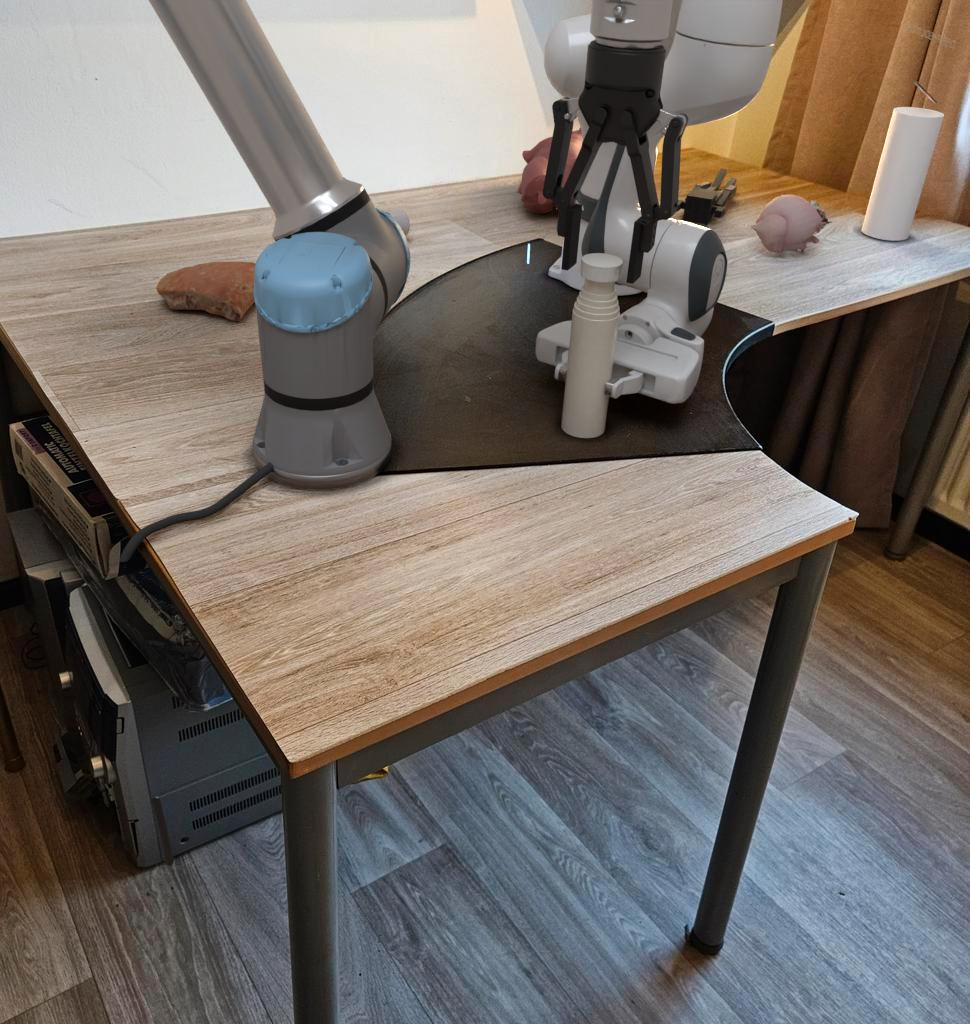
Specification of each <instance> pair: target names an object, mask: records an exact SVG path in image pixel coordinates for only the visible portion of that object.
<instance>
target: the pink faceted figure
mask: <svg viewBox="0 0 970 1024" xmlns="http://www.w3.org/2000/svg"><path fill="white" fill-rule="evenodd" d="M552 137H553V136H549V137H546V138H544V139H542V140H540V141H539V142H538V143H536V145H535V146H534V147H532V148H531V149H529V150H523V151H522V153H521V156H522V158H523V160H524V162H525V163H526V164H525V166H524V168H523V170H522V172H521V173H522V174H521V180H520V181H521V182H520V185H519V186H518V189H517V194H518V195H520V200H521V202H522V203H523V207H524V209H525V210H529V211H530V212H532V213H535V214H546V213H549V212H551V211H552V210H553V209H554V208H555V209H556V210H557V211H558V210H559V208H558V205H557V203H556V202H554V201H553V200H551V199H546V198H545V197H544V196H543V187H544V181H545V176H546V170H547V165H548V159H549V153H550V148H551V142H552ZM582 142H583V138H582V132H581V128H580V127H579V129H576V130H572V136H571V141H570V146H569V151H568V157H567V162H566V167H565V172H564V178H563V183H562V188H564V185H565V183H566V181H567V179H568V176H569V174H570V172H571V170H572V167H573V165H574V163H575V161H576V158H577V156H578V154H579V152H580V149H581V147H582ZM575 204H576V201H574V205H575Z"/></svg>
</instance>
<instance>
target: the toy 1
mask: <svg viewBox="0 0 970 1024" xmlns="http://www.w3.org/2000/svg"><path fill="white" fill-rule="evenodd" d="M727 171H728V170H727V169H726V168H720V169H719V171H718V173H717V175H716V177H715V178H714V180H713V182H710V181H704V182H700V183H697V184H695V185H694V187H693V188H692V190H691V191H690V192H688V193H687V195H686V197H685V198H684V200H683V199H678V210H677V212H680V210H683V216H682V221H685V222H688V223H692V224H698V225H706V226H707V225H709V223H711V221H712V220H713V218H716V219H722V217H723V216H724V215H725V212H726V204H727V203H728V201H729V199H730V198H731V197H732V196H734V195H735V194H736V193H737V188H738V185H736V182H737V177H732V176H731V177H730V178H729V179H728V180H727V182H726V183H725V185H724V187H723V188H722V190H719V189H720V188H721V186H722V184H723V181H724V180H725V178H726V176H727Z"/></svg>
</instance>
